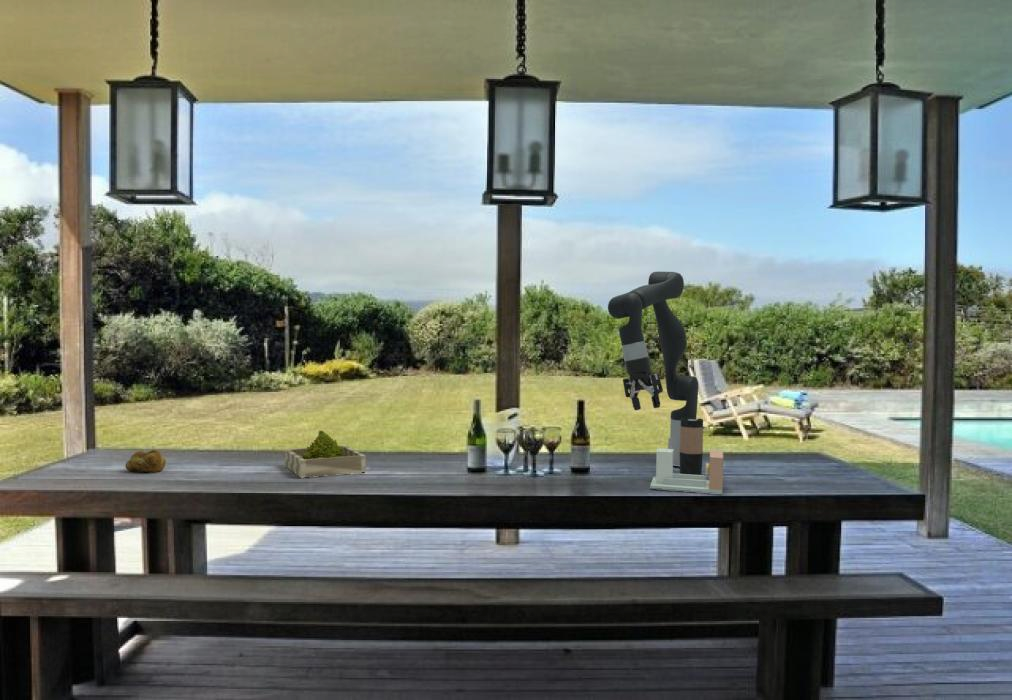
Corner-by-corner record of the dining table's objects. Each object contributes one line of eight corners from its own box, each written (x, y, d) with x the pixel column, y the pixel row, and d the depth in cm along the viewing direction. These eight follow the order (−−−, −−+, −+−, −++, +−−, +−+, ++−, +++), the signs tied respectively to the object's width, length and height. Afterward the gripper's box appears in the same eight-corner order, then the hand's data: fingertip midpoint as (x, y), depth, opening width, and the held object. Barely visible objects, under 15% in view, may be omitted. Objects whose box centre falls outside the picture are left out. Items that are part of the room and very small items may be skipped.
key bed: (650, 490, 249) (650, 453, 249) (653, 481, 263) (654, 446, 262) (722, 495, 243) (723, 458, 243) (721, 485, 257) (722, 450, 256)
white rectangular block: (655, 482, 252) (656, 451, 252) (657, 478, 258) (657, 448, 258) (671, 483, 251) (672, 452, 251) (672, 479, 257) (673, 449, 257)
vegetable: (291, 463, 264) (306, 423, 272) (300, 480, 278) (314, 441, 285) (334, 473, 263) (348, 432, 271) (341, 489, 277) (354, 450, 284)
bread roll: (119, 473, 265) (119, 449, 264) (136, 467, 274) (136, 445, 274) (156, 474, 263) (156, 450, 263) (171, 469, 273) (171, 446, 273)
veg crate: (285, 466, 280) (285, 449, 279) (345, 461, 290) (345, 445, 290) (300, 478, 259) (300, 460, 259) (365, 473, 270) (365, 455, 270)
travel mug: (685, 480, 265) (687, 420, 264) (675, 475, 272) (676, 417, 272) (706, 479, 267) (707, 420, 266) (695, 474, 275) (696, 417, 274)
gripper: (661, 352, 241) (672, 404, 241) (629, 358, 253) (640, 408, 253) (643, 356, 237) (655, 409, 237) (612, 362, 249) (623, 413, 248)
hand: (647, 408), depth 245 cm, fingers open, 8 cm apart
